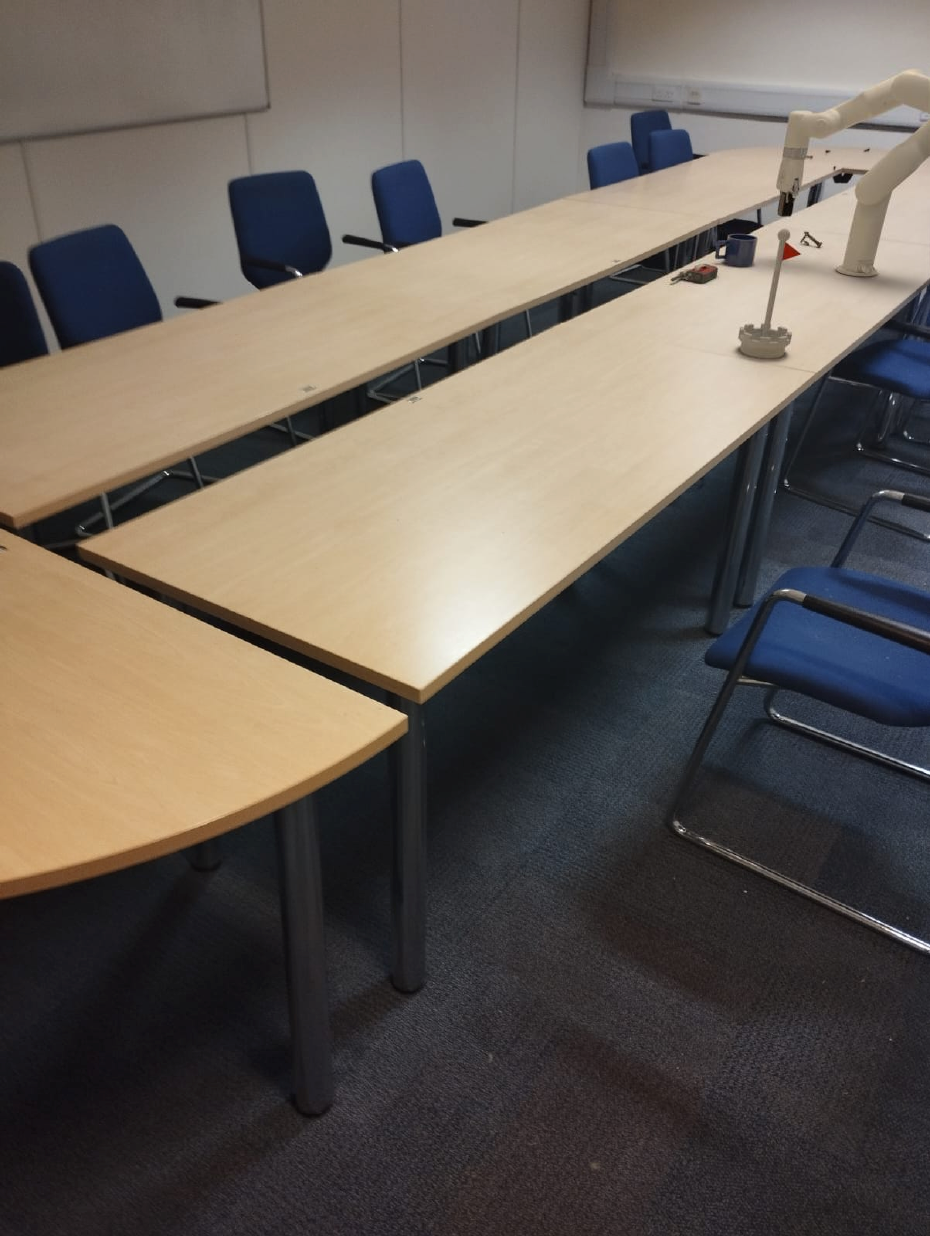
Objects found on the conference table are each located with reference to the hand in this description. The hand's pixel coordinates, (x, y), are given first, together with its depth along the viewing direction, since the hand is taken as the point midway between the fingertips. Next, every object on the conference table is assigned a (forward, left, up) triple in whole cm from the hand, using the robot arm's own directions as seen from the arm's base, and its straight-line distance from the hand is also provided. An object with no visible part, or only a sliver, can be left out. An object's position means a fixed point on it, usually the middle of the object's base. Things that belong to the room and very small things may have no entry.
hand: (784, 213), depth 326 cm
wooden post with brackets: (+22, -22, -16) cm, 35 cm away
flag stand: (-95, +40, -16) cm, 104 cm away
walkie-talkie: (-24, +36, -16) cm, 46 cm away
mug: (-3, +16, -15) cm, 23 cm away
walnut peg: (0, 0, -1) cm, 1 cm away
